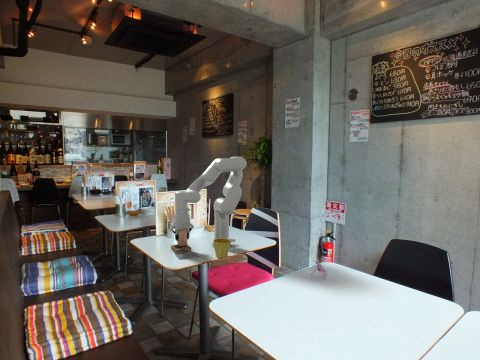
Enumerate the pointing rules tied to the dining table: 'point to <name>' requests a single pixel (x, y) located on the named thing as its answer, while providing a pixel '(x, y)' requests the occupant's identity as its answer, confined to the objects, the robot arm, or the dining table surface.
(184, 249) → the holder
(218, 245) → the plant pot
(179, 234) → the brown wooden block
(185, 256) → the mat
